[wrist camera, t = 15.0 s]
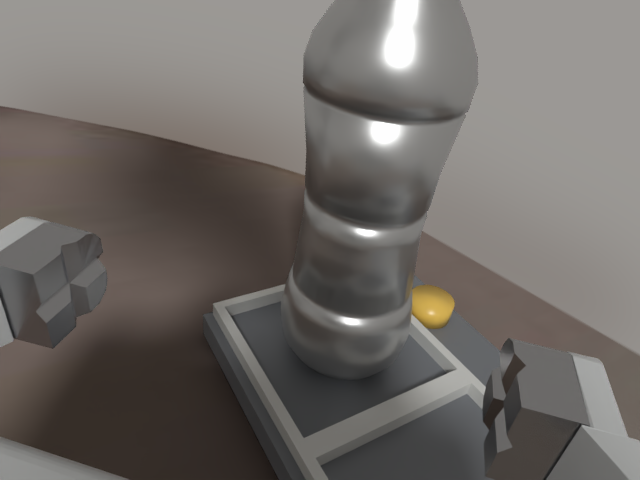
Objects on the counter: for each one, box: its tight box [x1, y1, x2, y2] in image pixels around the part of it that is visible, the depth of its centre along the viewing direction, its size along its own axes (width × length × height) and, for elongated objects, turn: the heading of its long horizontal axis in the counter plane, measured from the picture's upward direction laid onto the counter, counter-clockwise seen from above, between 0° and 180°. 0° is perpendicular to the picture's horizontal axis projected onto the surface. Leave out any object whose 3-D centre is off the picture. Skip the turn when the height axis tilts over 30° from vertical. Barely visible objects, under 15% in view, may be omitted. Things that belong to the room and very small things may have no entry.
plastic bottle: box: [281, 0, 478, 380], centre depth 21 cm, size 6×7×20 cm
